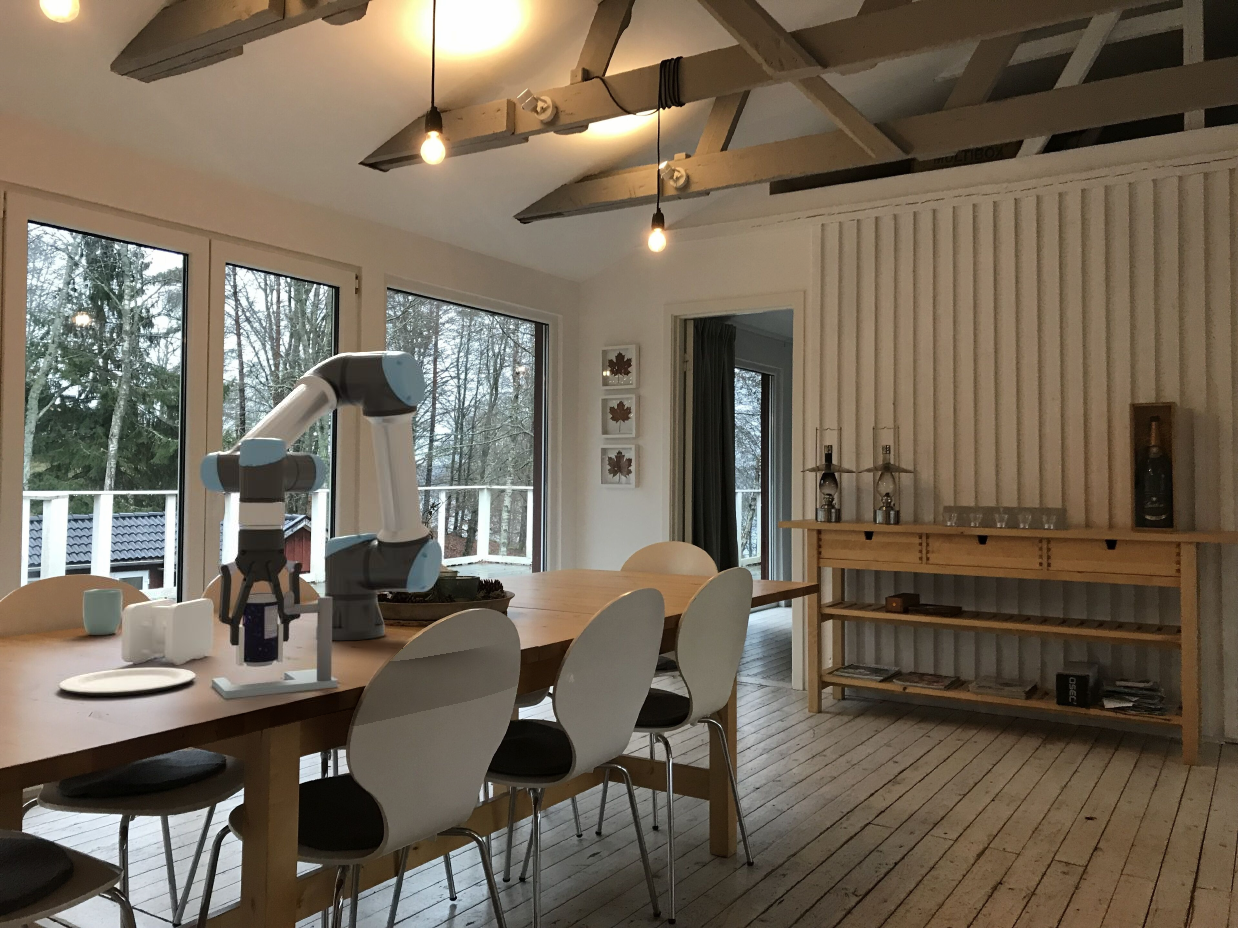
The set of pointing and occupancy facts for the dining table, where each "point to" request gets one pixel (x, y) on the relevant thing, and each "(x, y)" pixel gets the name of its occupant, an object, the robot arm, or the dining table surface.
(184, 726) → the dining table surface
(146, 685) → the plate
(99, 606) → the cup
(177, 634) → the cable organizer
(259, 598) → the beverage can
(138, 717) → the dining table surface
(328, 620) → the l-shaped desk stand
